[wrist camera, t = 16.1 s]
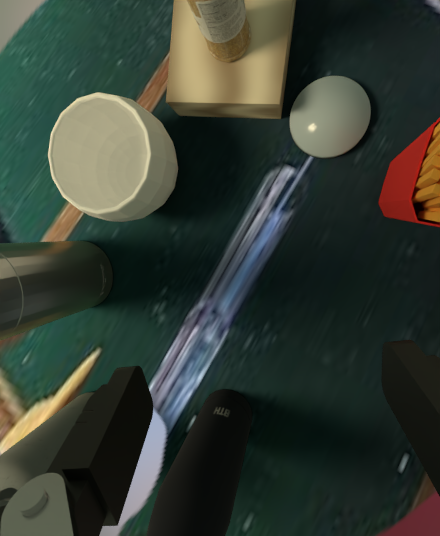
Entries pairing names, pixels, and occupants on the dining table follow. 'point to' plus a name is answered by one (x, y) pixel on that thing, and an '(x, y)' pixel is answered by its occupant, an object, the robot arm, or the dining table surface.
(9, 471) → the water bottle
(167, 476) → the black bottle
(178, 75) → the birch block
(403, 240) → the dining table surface
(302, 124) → the pale grey dome
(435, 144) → the french fries
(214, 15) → the sprinkles bottle
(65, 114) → the cup
